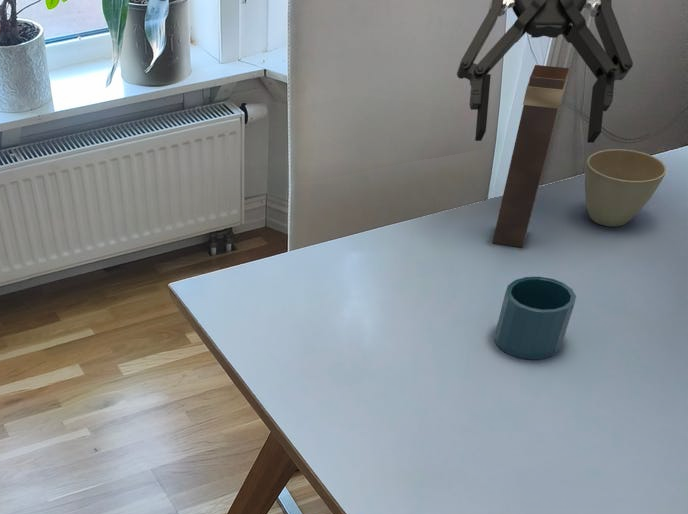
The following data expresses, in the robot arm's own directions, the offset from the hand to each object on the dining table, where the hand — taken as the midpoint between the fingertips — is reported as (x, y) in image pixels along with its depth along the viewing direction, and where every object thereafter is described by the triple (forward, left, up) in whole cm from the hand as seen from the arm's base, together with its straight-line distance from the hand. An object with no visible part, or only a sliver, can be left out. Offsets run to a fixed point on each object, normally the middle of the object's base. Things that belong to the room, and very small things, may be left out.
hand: (536, 137), depth 108 cm
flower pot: (-12, -11, -14) cm, 21 cm away
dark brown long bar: (0, -1, -13) cm, 14 cm away
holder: (-6, +23, -13) cm, 27 cm away
